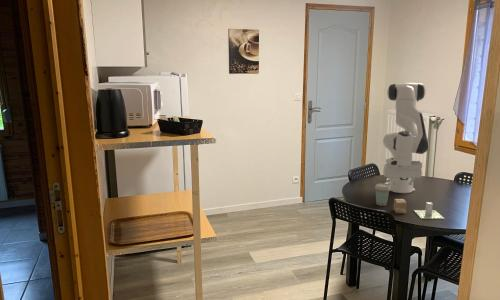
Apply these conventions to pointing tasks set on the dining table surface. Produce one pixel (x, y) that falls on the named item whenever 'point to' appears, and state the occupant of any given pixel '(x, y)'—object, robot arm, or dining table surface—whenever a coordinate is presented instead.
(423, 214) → the post
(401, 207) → the wood grain block
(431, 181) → the dining table surface
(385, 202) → the coffee cup
